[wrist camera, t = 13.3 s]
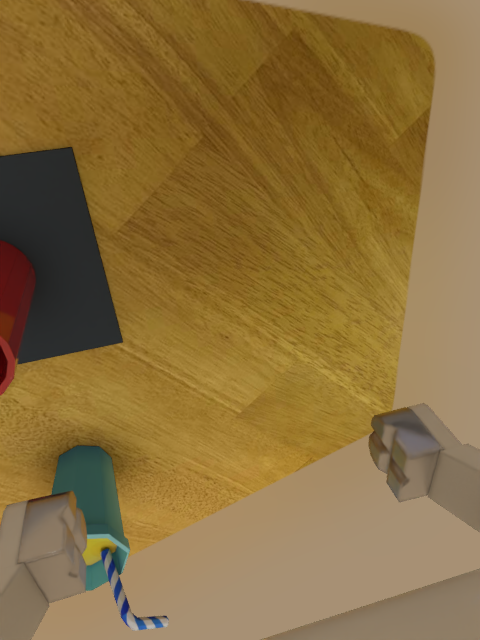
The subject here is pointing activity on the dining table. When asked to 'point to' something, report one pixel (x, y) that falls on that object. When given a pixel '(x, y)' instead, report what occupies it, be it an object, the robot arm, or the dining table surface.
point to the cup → (100, 524)
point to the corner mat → (56, 254)
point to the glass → (13, 307)
